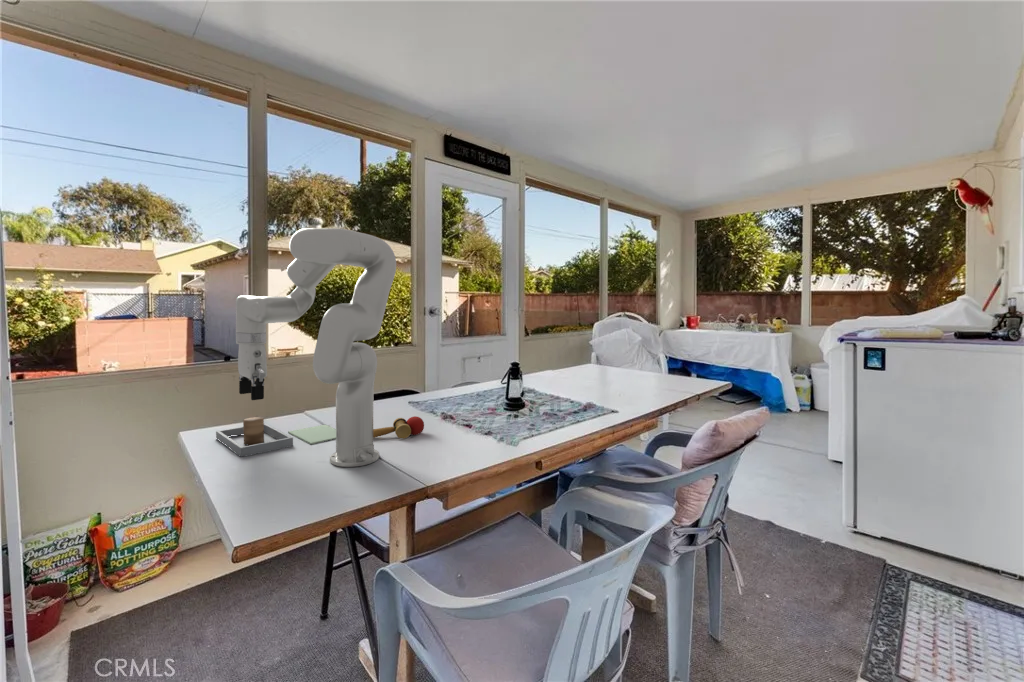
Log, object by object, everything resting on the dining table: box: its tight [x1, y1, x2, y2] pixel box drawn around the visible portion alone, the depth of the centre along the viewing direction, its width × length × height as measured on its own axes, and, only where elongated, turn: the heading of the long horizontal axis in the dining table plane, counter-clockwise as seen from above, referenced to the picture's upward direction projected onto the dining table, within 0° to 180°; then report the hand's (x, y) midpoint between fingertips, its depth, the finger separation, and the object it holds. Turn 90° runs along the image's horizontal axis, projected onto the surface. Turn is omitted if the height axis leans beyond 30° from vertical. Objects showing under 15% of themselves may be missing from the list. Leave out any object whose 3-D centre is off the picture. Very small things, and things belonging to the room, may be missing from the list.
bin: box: [215, 422, 294, 457], centre depth 132 cm, size 22×14×2 cm, turn 48°
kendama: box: [373, 416, 425, 439], centre depth 142 cm, size 8×6×18 cm
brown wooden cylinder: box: [242, 416, 265, 446], centre depth 132 cm, size 5×5×7 cm
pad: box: [287, 424, 336, 445], centre depth 142 cm, size 16×12×1 cm
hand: (251, 396), depth 131 cm, fingers open, 9 cm apart
